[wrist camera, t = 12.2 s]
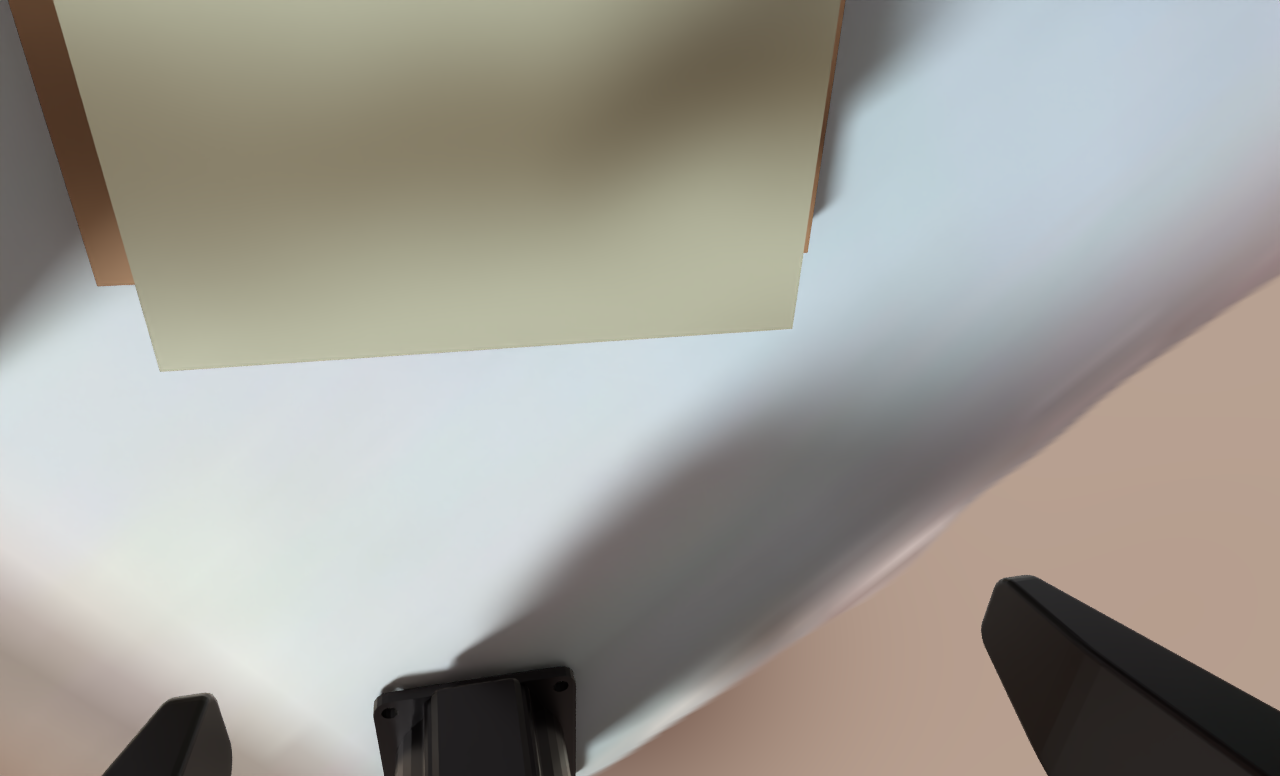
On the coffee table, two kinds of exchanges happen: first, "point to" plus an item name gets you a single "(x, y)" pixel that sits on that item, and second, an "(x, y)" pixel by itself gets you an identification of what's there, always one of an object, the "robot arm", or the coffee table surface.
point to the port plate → (437, 167)
